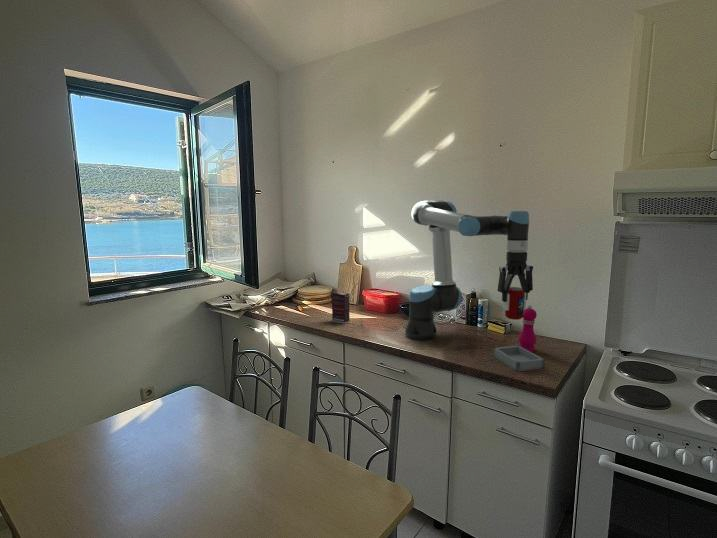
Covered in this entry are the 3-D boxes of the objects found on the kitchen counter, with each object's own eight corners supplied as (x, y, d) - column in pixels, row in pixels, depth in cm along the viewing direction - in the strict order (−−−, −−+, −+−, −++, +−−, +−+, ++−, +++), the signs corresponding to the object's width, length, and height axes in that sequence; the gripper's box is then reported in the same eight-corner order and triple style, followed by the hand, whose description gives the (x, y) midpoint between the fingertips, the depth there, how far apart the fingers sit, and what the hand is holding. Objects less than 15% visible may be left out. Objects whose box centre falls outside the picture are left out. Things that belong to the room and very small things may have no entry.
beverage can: (524, 320, 157) (526, 290, 155) (505, 319, 159) (507, 289, 157) (521, 316, 164) (523, 287, 162) (504, 315, 165) (505, 286, 164)
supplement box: (350, 321, 219) (349, 293, 216) (344, 324, 215) (344, 294, 212) (337, 319, 223) (336, 291, 221) (331, 321, 219) (331, 292, 217)
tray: (493, 356, 170) (493, 348, 169) (517, 353, 173) (518, 345, 173) (517, 371, 155) (517, 362, 154) (543, 368, 158) (544, 359, 157)
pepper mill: (520, 345, 183) (523, 302, 179) (537, 349, 178) (541, 304, 175) (515, 350, 177) (518, 305, 174) (532, 353, 173) (536, 308, 169)
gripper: (500, 253, 152) (497, 313, 155) (545, 251, 156) (542, 309, 160) (488, 251, 159) (486, 308, 162) (532, 249, 163) (529, 305, 167)
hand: (514, 308), depth 161 cm, fingers closed on beverage can, 7 cm apart
